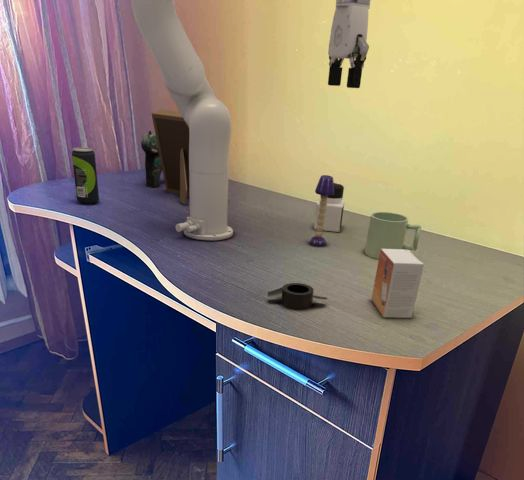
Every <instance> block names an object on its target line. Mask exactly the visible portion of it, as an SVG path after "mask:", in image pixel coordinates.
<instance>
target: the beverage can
mask: <svg viewBox="0 0 524 480" xmlns="http://www.w3.org/2000/svg"><path fill="white" fill-rule="evenodd" d="M71 150H72V152H71V158H72V159H71V160H72V168H73V176H74V186H75V195H76V201H77V202H78V203H79V204H81V205H85V206H86V205H87V206H90V205H96V204H98V203H99V201H100V196H99V195H100V194H99V186H98V185H99V183H98V173H97V162H96V154H95V153H96V152H94V148H91V147H73V148H71Z"/></svg>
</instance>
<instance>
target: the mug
mask: <svg viewBox="0 0 524 480" xmlns="http://www.w3.org/2000/svg"><path fill="white" fill-rule="evenodd" d="M368 223H369V224H368V229H367V237H366V244H365V249H364V253H365V255H367V257H368V256H369V257H370V258H372V259H376V260H379V256H380V250H381V249H404V250H410V251H413V252H414V251H417V249H418V245H419V240H420V235H421V231H422V226H421V224H411V223H409V217H408V216H406V215H403V214H400V213H396V212H391V211H390V212H389V211H376V212H372V213H370V217H369V222H368ZM407 230H414V231H415V233H414V237H413V242H412V245H411V244H405V239H406V234H407Z"/></svg>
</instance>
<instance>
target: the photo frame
mask: <svg viewBox="0 0 524 480" xmlns="http://www.w3.org/2000/svg"><path fill="white" fill-rule="evenodd" d="M151 119H152V124H153V129H154V134H155V135H156V140H157V145H158V150H159V155H160V161H161V166H162V176H163V180H164V181H163V182H164V185H165V191H166V192H168V193H172V194H175V195H179V202H180V203H181V204H182V205H184V206H186V205H187V197H190V193H189V127H188V125H187V124H186V122H185V120H184V118H183V117H182V115H181V113H180V111H179V110H178V111H177V110H169V109H161V108H160V109H158V110H155V111H153V112H151Z"/></svg>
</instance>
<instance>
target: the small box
mask: <svg viewBox="0 0 524 480" xmlns="http://www.w3.org/2000/svg"><path fill="white" fill-rule="evenodd" d="M424 266H425V264H424V263H423V262H422V261H420V260H419V259H418V257H417V256H415V255H414V254H413V252H412V251H411V250H404V249H381V250H380V256H379V259H378V262H377V268H376V272H375V276H374V282H373V289H372V294H371V299H370V300H371V301H372V302H373V304H374V305H375V307H376V309H377V310H378V312H379V313H380V315H381V317H382V318H396V319H397V318H403V319H411V318H412V317H413V314H414V309H415V305H416V301H417V297H418V292H419V287H420V284H421V279H422V274H423V270H424Z"/></svg>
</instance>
